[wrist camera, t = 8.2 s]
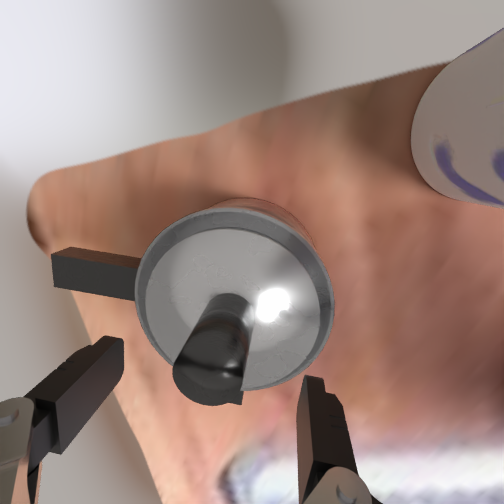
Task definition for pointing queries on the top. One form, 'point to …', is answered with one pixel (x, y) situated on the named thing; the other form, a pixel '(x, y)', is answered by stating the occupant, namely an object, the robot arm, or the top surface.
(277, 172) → the top surface
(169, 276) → the lid
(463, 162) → the container
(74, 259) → the pot
